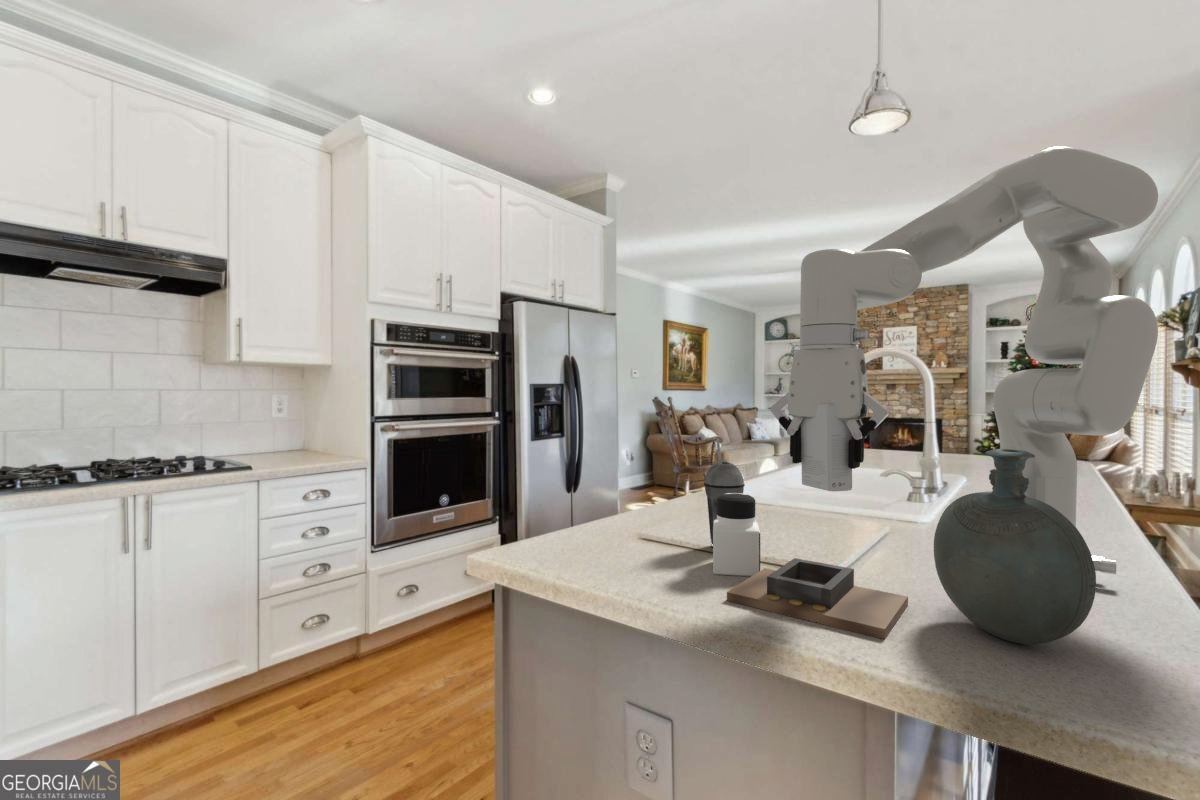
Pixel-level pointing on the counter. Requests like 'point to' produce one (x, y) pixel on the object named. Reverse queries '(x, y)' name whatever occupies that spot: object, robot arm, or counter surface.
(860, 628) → the board
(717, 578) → the counter surface
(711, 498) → the beverage cup
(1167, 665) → the counter surface
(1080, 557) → the flask
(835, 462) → the skincare box
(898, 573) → the counter surface
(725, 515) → the medicine bottle
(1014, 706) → the counter surface
